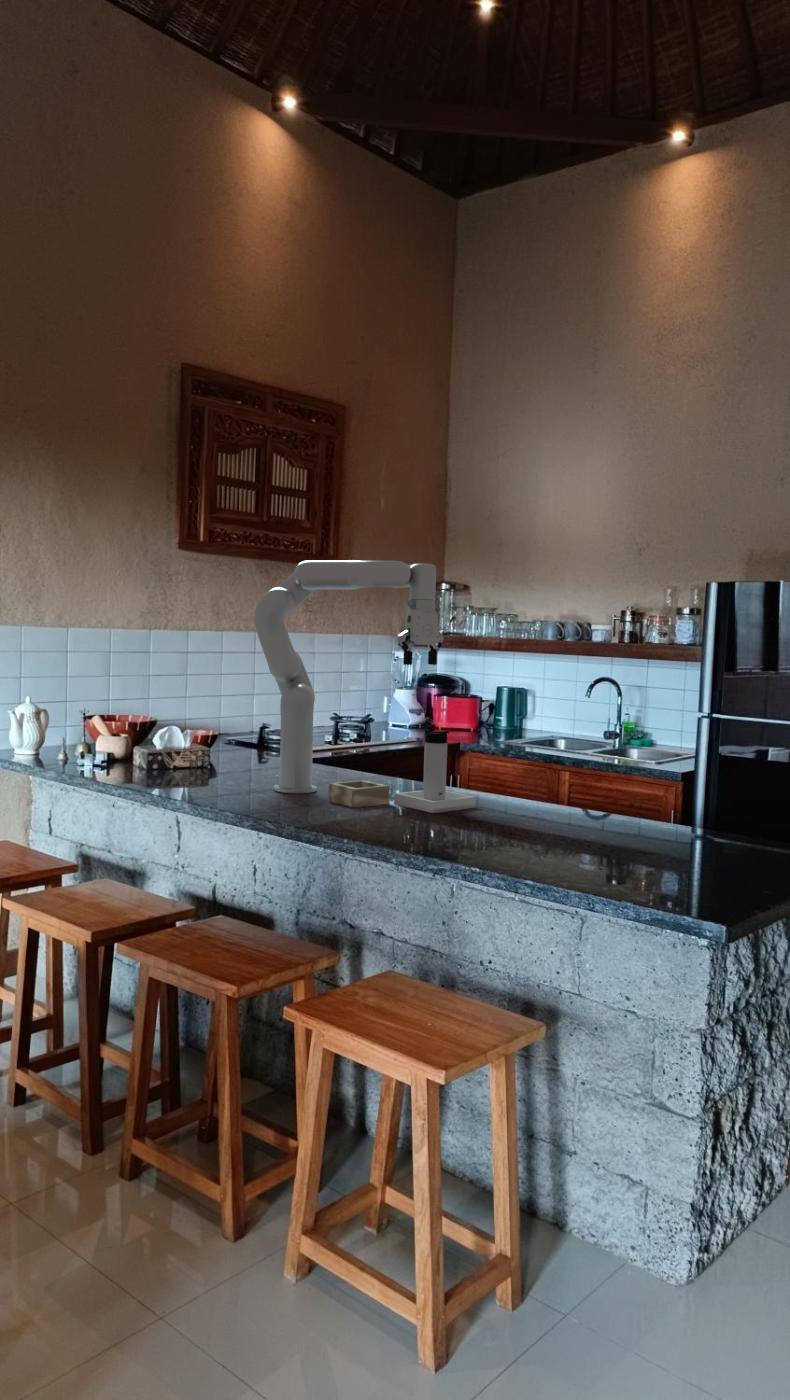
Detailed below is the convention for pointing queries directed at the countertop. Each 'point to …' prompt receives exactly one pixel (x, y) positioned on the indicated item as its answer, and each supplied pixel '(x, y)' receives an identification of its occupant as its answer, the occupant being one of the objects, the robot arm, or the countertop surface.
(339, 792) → the wooden open box
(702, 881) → the countertop surface
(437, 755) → the travel mug
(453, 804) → the tray
